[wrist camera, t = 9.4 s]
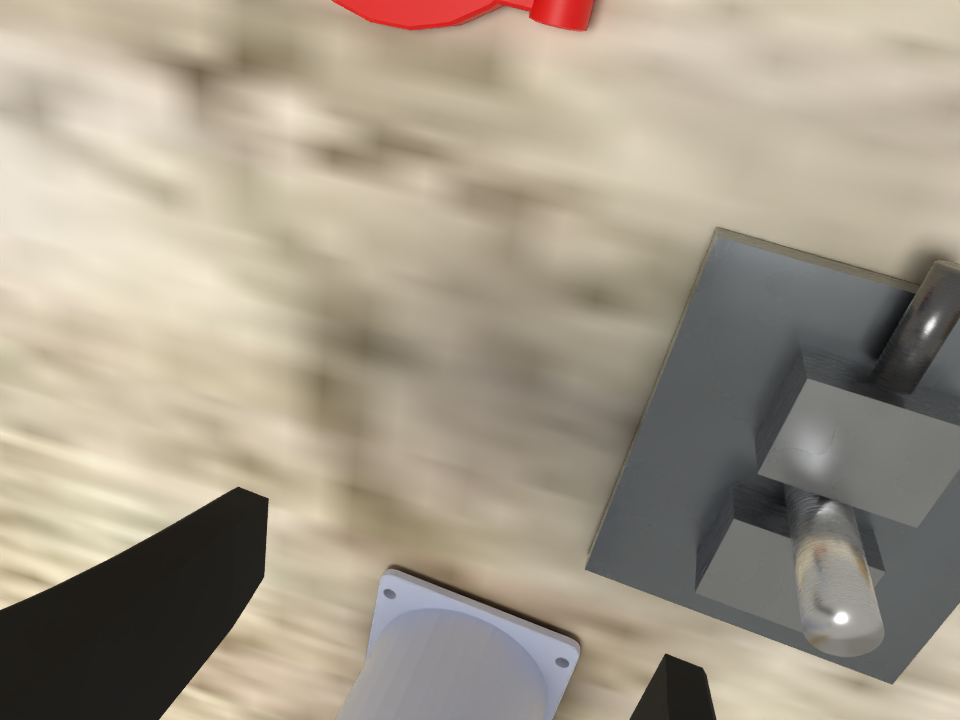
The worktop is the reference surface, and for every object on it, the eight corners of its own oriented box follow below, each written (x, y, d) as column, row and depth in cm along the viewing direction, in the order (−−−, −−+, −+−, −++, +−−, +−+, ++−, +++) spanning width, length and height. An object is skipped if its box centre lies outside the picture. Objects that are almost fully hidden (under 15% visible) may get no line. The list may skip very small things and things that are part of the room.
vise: (887, 663, 23) (936, 859, 17) (588, 553, 24) (553, 703, 19) (1168, 310, 16) (1378, 460, 11) (731, 189, 17) (736, 270, 12)
